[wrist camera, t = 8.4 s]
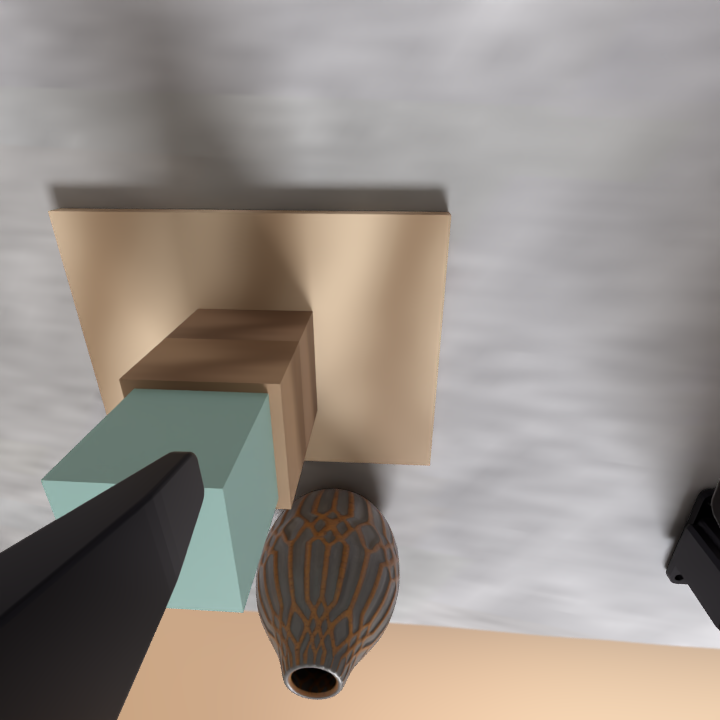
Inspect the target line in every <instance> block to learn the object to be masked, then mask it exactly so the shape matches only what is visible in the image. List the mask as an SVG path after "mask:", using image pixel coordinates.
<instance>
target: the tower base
mask: <svg viewBox="0 0 720 720" xmlns="http://www.w3.org/2000/svg"><path fill="white" fill-rule="evenodd" d="M166 338H188V339H228V340H268V341H299V345H300V361H301V376H302V392H303V408H304V424H305V439H306V452H307V448H308V444H309V441H310V437H311V433H312V429H313V426H314V422H315V418H316V414H317V411H318V410H317V389H316V368H315V347H314V327H313V311H283V310H237V309H197V310H196V311H195V312H194V313H193V314H191V315H190V316H189V317H188V318H187V319H186V320H185V321H184V322H183V323H181V324H180V325H179V326H178V327H177V328H176V329H175V330H174V331H172V332H171V333H170V334H169V335H168V336H167V337H166Z"/></svg>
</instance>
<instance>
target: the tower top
mask: <svg viewBox="0 0 720 720" xmlns="http://www.w3.org/2000/svg"><path fill="white" fill-rule="evenodd" d="M119 381H120V385H121V389H122V393H123V396H124V398H125V397H126V396H127V395H128V394H129V393H130V392H131V391H132V390H133V389H161V390H189V391H218V392H246V393H268V394H269V405H270V415H271V426H272V436H273V446H274V457H275V467H276V478H277V488H278V498H279V499H278V502H277V505H276V508H275V509H291V508H292V504H293V500H294V497H295V493H296V489H297V485H298V482H299V478H300V474H301V471H302V467H303V463H304V459H305V456H306V439H305V424H304V408H303V392H302V376H301V361H300V345H299V341H268V340H228V339H188V338H165V339H163V340H162V341H161V342H160V343H159V344H158V345H157V346H156V347H154V348H153V349H152V350H151V351H150V352H149V353H148V354H147V355H146V356H144V357H143V358H142V359H141V360H140V361H139V362H138V363H137V364H135V365H134V366H133V367H132V368H131V369H130V370H129V371H128V372H126V373H125V374H124V375H123V376H122V377H121V378H120V379H119Z"/></svg>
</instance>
